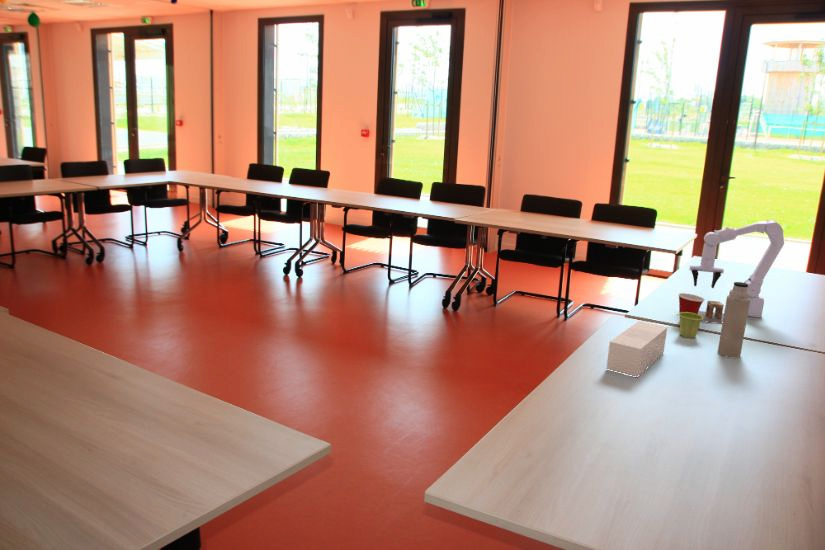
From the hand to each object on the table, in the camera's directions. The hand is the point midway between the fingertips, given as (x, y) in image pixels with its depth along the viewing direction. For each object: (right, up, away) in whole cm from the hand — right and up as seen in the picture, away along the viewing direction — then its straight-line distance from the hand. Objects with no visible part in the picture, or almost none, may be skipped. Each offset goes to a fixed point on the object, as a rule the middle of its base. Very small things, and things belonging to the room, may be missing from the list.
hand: (703, 286), depth 323 cm
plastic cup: (-16, -15, -21) cm, 31 cm away
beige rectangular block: (-55, -26, -72) cm, 95 cm away
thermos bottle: (-15, -25, -59) cm, 66 cm away
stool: (-1, -13, -12) cm, 18 cm away
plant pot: (-23, -20, -40) cm, 50 cm away
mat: (-1, -14, -12) cm, 18 cm away
